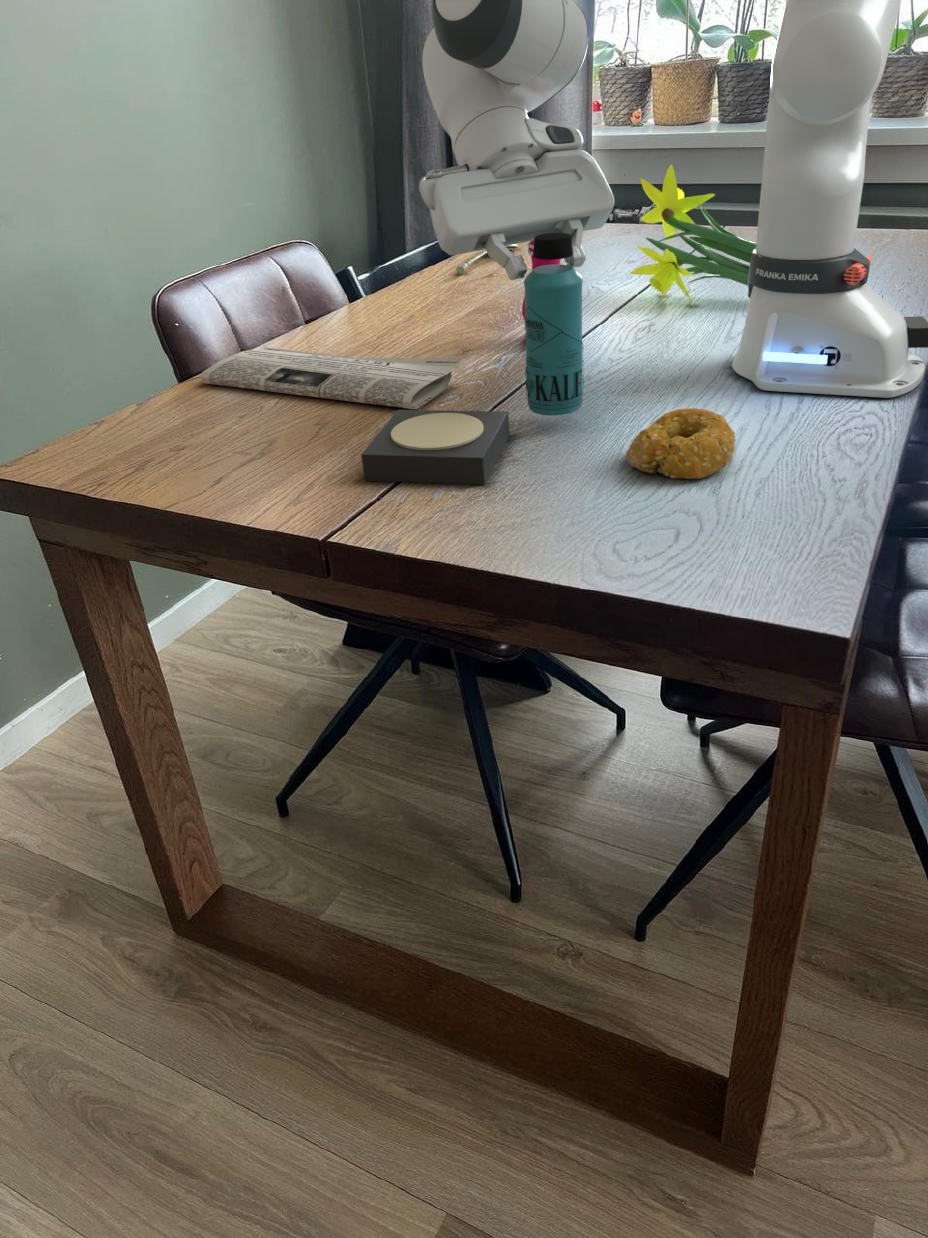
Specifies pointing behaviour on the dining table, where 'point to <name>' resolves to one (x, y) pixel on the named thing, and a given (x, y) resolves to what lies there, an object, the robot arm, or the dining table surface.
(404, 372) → the newspaper
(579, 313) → the beverage bottle
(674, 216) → the daffodil flowers
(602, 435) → the dining table surface
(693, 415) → the bagel
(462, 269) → the soupspoon
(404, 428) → the display stand
